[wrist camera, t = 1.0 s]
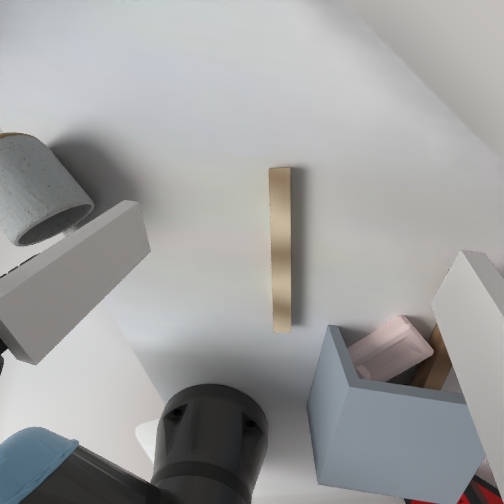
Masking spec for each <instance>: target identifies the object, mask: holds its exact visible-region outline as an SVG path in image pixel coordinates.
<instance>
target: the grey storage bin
mask: <svg viewBox="0 0 504 504" xmlns="http://www.w3.org/2000/svg"><path fill="white" fill-rule="evenodd" d="M307 412H308V419H309V426H310V433H311V440H312V447H313V454H314V461H315V468H316V475H317V481H318V484H319V485H325V486H331V487H338V488H344V489H350V490H356V491H363V492H369V493H375V494H381V495H388V496H394V497H400V498H406V499H413V500H419V501H425V502H431V503H438V504H457V502H458V501H459V499H460V497H461V496H462V494H463V492H464V491H465V489H466V487H467V486H468V484H469V482H470V481H471V479H472V477H473V476H474V474H475V473H476V471H477V469H478V468H479V466H480V464H481V463H482V461H483V459H484V458H485V456H486V454H485V452H484V449H483V446H482V444H481V441H480V438H479V435H478V433H477V430H476V427H475V425H474V422H473V419H472V416H471V414H470V411H469V408H468V406H467V403H466V400H465V397H464V395H463V394H458V393H452V392H445V391H439V390H432V389H425V388H419V387H412V386H406V385H399V384H393V383H386V382H379V381H373V380H366V379H360V378H359V377H358V375H357V372H356V370H355V367H354V365H353V362H352V360H351V357H350V355H349V352H348V350H347V347H346V345H345V342H344V340H343V337H342V335H341V332H340V330H339V327H337V326H331V325H328V327H327V331H326V335H325V339H324V343H323V346H322V350H321V354H320V358H319V362H318V365H317V369H316V373H315V377H314V381H313V385H312V388H311V392H310V396H309V400H308V404H307Z"/></svg>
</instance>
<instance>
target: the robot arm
mask: <svg viewBox="0 0 504 504" xmlns="http://www.w3.org/2000/svg"><path fill="white" fill-rule="evenodd" d="M150 252H151V250H150V246H149V242H148V238H147V234H146V229H145V225H144V221H143V217H142V213H141V208H140V204H139V202H135V201H128V200H123V201H122V202H120V203H119V204H117V205H116V206H114V207H112V208H111V209H109V210H108V211H106V212H105V213H103V214H101V215H100V216H98V217H97V218H95V219H94V220H92V221H90V222H89V223H87V224H86V225H84V226H83V227H81V228H79V229H78V230H76V231H75V232H73V233H71V234H70V235H68V236H67V237H65V238H64V239H62V240H60V241H59V242H57V243H56V244H54V245H53V246H51V247H50V248H48V249H46V250H45V251H43V252H42V253H39V254H37V255H35V256H33V257H31V258H29V259H28V260H26V261H25V262H23V263H21V264H20V266H19V267H18V266H17V267H15V268H14V269H12V270H10V271H9V273H8V274H4V275H2V276H1V277H0V375H1V371H2V368H3V364H4V359H3V357H2V356H1V354H2V353H3V352H4V351H5V350H7V349H9V350H10V351H11V353H12V354H13V355H14V356H15V357H16V359H17V360H20V361H24V362H27V363H30V364H33V365H37V364H38V363H39V362H40V361H41V360H42V359H43V358H44V357H45V356H46V355H47V354H48V353H49V352H50V351H51V350H52V349H53V348H54V347H55V346H56V345H57V344H58V343H59V342H60V341H61V340H62V339H63V338H64V337H65V336H66V335H67V334H68V333H69V332H70V331H71V330H72V329H73V328H74V327H75V326H76V325H77V324H78V323H79V322H80V321H81V320H82V319H83V318H84V317H85V316H86V315H87V314H88V313H89V312H90V311H91V310H92V309H93V308H94V307H95V306H96V305H97V304H98V303H99V302H100V301H101V300H102V299H103V298H104V297H105V296H106V295H107V294H108V293H109V292H110V291H111V290H112V289H113V288H114V287H115V286H116V285H117V284H118V283H119V282H120V281H121V280H122V279H123V278H124V277H125V276H126V275H127V274H128V273H130V272H131V271H132V270H133V269H134V268H135V267H136V266H137V265H138V264H139V263H140V262H141V261H142V260H143V259H144V258H145V257H146V256H147V255H148V254H149V253H150ZM430 305H431V308H432V311H433V313H434V316H435V319H436V322H437V324H438V327H439V330H440V332H441V335H442V338H443V341H444V343H445V346H446V349H447V351H448V354H449V357H450V360H451V362H452V365H453V368H454V370H455V373H456V376H457V378H458V381H459V384H460V387H461V389H462V392H463V395H464V397H465V400H466V403H467V406H468V408H469V411H470V414H471V416H472V419H473V422H474V425H475V427H476V430H477V433H478V435H479V438H480V441H481V444H482V446H483V449H484V452H485V454H486V457H487V460H488V463H489V465H490V468H491V471H492V473H493V476H494V479H495V481H496V484H497V487H498V490H499V492H500V495H501V498H502V500H503V503H504V278H503V277H502V275H501V274H500V273H499V271H498V270H497V269H496V267H495V266H494V265H493V263H492V262H491V261H490V259H489V258H488V257H487V255H486V254H485V253H479V252H472V251H466V250H460V252H459V254H458V256H457V257H456V259H455V261H454V263H453V264H452V266H451V268H450V270H449V271H448V273H447V275H446V277H445V278H444V280H443V282H442V284H441V285H440V287H439V289H438V291H437V292H436V294H435V296H434V298H433V299H432V301H431V303H430ZM267 445H268V424H267V420H266V417H265V415H264V413H263V411H262V410H261V408H260V407H259V406H258V405H257V404H256V403H255V402H254V401H253V400H252V399H251V398H250V397H248V396H247V395H245V394H243V393H241V392H239V391H237V390H235V389H232V388H229V387H225V386H220V385H197V386H193V387H189V388H186V389H184V390H182V391H180V392H178V393H177V394H175V395H174V396H173V397H172V398H171V399H170V400H169V401H168V403H167V404H166V406H165V409H164V411H163V413H162V416H161V418H160V420H159V424H158V428H157V437H156V449H155V460H154V472H153V477H152V479H151V482H150V483H149V482H147V481H145V480H143V479H141V478H140V477H138V476H136V475H134V474H132V473H130V472H129V471H126V470H125V469H123V468H121V467H119V466H118V465H116V464H114V463H112V462H110V461H108V460H106V459H104V458H103V457H101V456H99V455H97V454H95V453H93V452H92V451H90V450H88V449H86V448H84V447H82V446H81V445H79V441H77V440H75V439H73V440H69V439H67V438H64V437H62V436H60V435H58V434H56V433H53V432H51V431H49V430H47V429H45V428H41V427H30V428H26V429H23V430H21V431H19V432H17V433H15V434H13V435H12V436H10V437H9V438H8V439H6V440H5V441H4V442H3V443H2V444H0V504H251V500H252V493H253V490H254V487H255V484H256V481H257V478H258V475H259V472H260V469H261V466H262V463H263V460H264V457H265V454H266V451H267Z"/></svg>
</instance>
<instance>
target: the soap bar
mask: <svg viewBox="0 0 504 504" xmlns="http://www.w3.org/2000/svg"><path fill="white" fill-rule="evenodd" d="M347 350H348V352H349V355H350V357H351V360H352V362H353V365H354V367H355V370H356V372H357V375H358V377H359V378H360V379H366V380H373V381H379V382H386V381H388V380H389V379H391V378H393V377H395V376H397V375H398V374H400V373H402V372H404V371H405V370H407V369H409V368H411V367H412V366H414V365H416V364H418V363H419V362H421V361H423V360H425V359H427V358H428V357H430V356H432V355H433V352H434V350H433V349H432V347H431V346H430V345H429V344H428V343H427V342H426V340H425V339H424V338H423V337H422V336H421V334H420V333H419V332H418V331H417V330H416V328H415V327H414V326H413V325H412V324H411V323H410V321H409V320H408V319H407V318H406V317H405V316H404V315H398V316H397V317H395V318H394V319H392V320H390V321H389V322H387V323H386V324H384V325H383V326H381V327H379V328H378V329H376V330H375V331H373V332H372V333H370V334H368V335H367V336H365V337H364V338H362V339H360V340H359V341H357V342H356V343H354V344H353V345H351V346H349V347H348V348H347Z"/></svg>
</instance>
